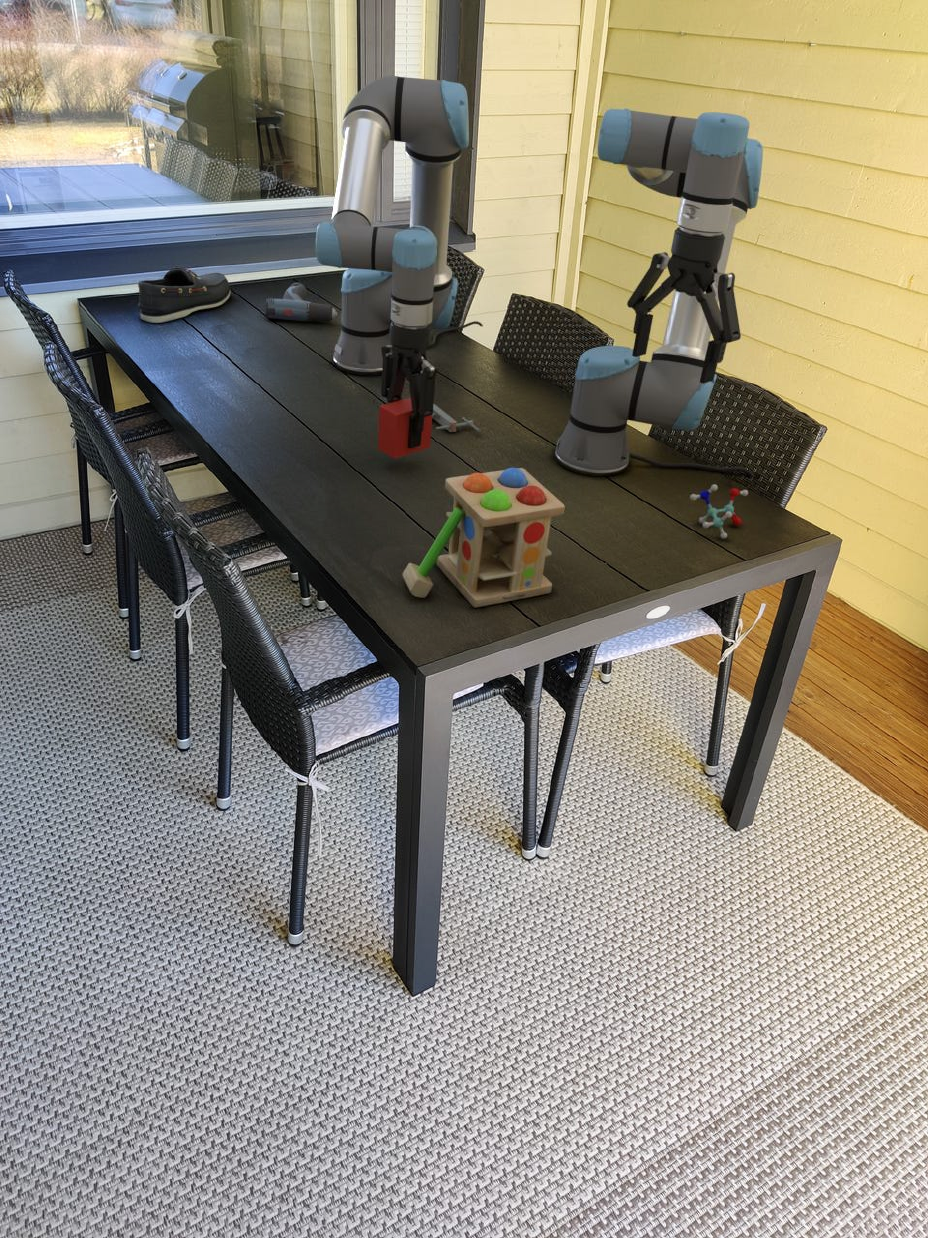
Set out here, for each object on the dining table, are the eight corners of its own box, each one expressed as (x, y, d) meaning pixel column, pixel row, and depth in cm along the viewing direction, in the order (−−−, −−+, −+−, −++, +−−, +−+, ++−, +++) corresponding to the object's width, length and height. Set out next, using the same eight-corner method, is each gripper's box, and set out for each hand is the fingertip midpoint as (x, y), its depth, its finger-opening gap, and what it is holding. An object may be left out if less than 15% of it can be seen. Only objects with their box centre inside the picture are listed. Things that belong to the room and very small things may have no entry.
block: (377, 448, 190) (379, 405, 185) (413, 437, 196) (416, 395, 190) (394, 458, 187) (396, 415, 182) (430, 447, 193) (433, 404, 188)
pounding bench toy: (424, 619, 150) (431, 515, 140) (388, 572, 160) (393, 472, 150) (553, 592, 159) (568, 494, 149) (511, 550, 169) (523, 455, 159)
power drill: (344, 304, 276) (335, 327, 259) (277, 298, 275) (264, 321, 258) (344, 285, 273) (335, 306, 256) (277, 279, 272) (264, 300, 255)
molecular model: (753, 532, 175) (738, 478, 173) (701, 547, 178) (685, 494, 177) (757, 522, 185) (742, 472, 184) (707, 537, 189) (692, 487, 187)
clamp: (408, 405, 213) (448, 399, 218) (407, 414, 215) (447, 409, 219) (441, 432, 203) (482, 426, 207) (440, 442, 204) (481, 435, 209)
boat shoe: (248, 301, 272) (246, 262, 267) (158, 325, 248) (153, 283, 243) (214, 293, 278) (211, 255, 272) (123, 315, 254) (117, 274, 248)
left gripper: (363, 311, 180) (360, 428, 193) (427, 341, 170) (420, 463, 183) (395, 304, 184) (390, 419, 198) (459, 334, 174) (450, 453, 188)
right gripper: (620, 213, 151) (598, 348, 163) (757, 253, 137) (722, 397, 148) (650, 209, 155) (626, 340, 167) (786, 247, 141) (750, 388, 153)
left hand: (404, 440), depth 190 cm, fingers closed on block, 5 cm apart
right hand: (671, 368), depth 158 cm, fingers open, 13 cm apart
